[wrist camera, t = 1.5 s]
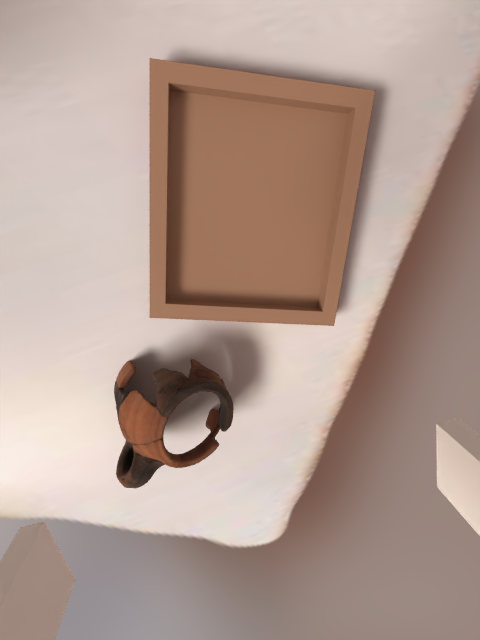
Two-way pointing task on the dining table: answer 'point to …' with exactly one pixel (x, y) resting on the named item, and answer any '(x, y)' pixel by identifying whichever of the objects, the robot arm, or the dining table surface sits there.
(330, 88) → the serving tray
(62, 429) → the dining table surface
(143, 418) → the pottery mug
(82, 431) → the dining table surface
